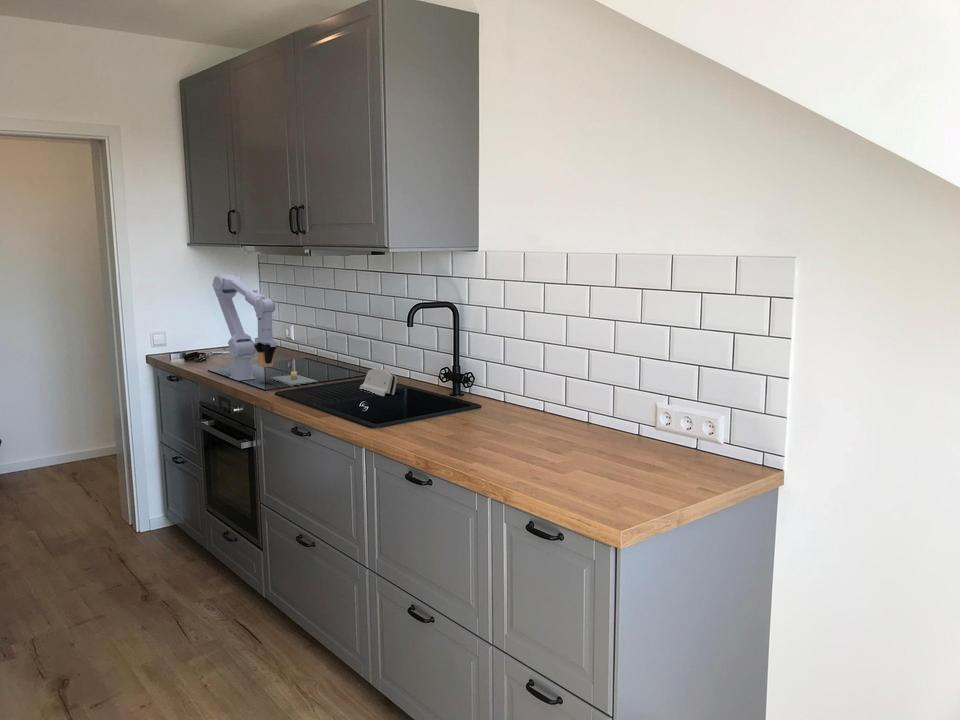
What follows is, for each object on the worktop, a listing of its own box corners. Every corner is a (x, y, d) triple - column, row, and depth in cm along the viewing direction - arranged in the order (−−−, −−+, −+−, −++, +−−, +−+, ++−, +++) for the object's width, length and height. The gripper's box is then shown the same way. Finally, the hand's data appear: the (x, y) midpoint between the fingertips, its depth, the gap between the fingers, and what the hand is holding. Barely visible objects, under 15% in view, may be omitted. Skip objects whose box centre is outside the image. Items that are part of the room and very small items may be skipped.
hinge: (358, 389, 313) (365, 365, 314) (367, 392, 316) (375, 368, 317) (383, 396, 301) (391, 371, 302) (393, 399, 304) (400, 374, 305)
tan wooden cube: (257, 365, 320) (257, 352, 320) (268, 364, 323) (267, 351, 323) (263, 367, 317) (262, 353, 316) (273, 366, 320) (273, 352, 319)
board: (270, 379, 329) (270, 370, 328) (296, 376, 337) (296, 367, 336) (291, 386, 316) (291, 376, 315) (318, 383, 324) (318, 373, 323)
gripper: (247, 327, 321) (248, 360, 323) (264, 331, 310) (264, 365, 312) (263, 326, 325) (264, 359, 327) (280, 330, 315) (281, 364, 317)
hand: (265, 362), depth 320 cm, fingers closed on tan wooden cube, 5 cm apart
